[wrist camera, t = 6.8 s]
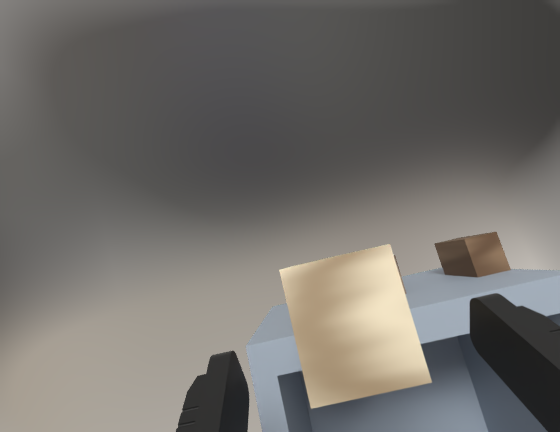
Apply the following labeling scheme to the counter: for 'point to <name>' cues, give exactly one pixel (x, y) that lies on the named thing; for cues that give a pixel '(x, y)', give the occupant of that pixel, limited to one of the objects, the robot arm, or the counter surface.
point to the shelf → (438, 355)
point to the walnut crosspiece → (471, 256)
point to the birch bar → (353, 327)
